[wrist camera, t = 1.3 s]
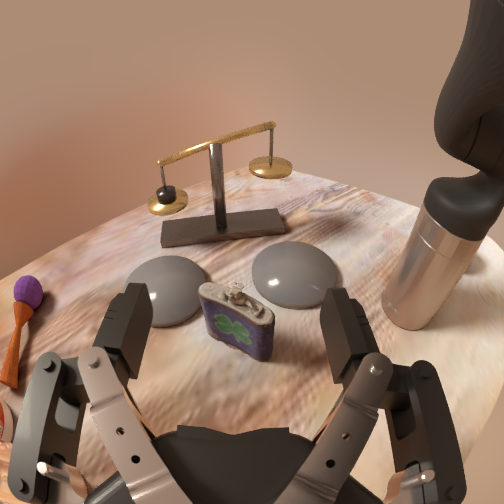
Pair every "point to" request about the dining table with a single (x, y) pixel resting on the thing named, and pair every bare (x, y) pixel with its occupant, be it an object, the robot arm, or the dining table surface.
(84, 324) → the dining table surface
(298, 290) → the gray domed disc
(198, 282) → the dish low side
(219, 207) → the balance
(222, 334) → the flask
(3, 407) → the fruit juice
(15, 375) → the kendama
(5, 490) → the beer glass
